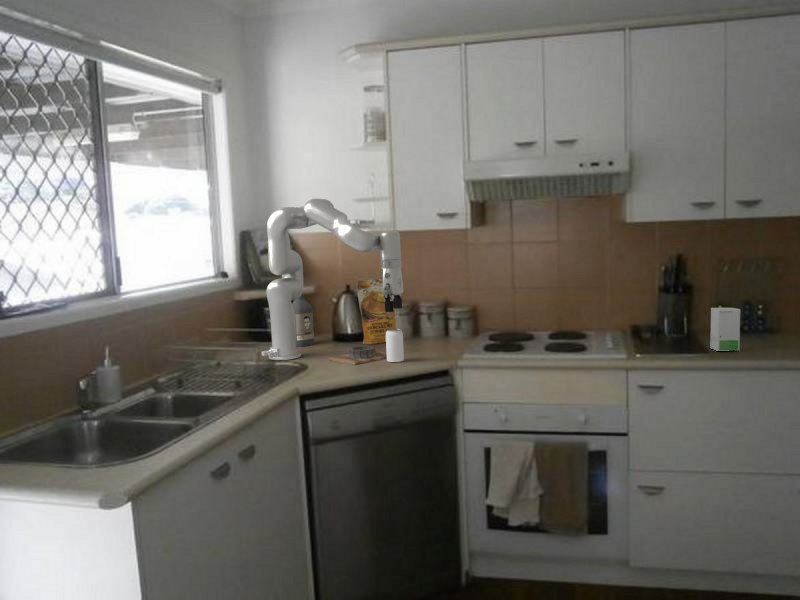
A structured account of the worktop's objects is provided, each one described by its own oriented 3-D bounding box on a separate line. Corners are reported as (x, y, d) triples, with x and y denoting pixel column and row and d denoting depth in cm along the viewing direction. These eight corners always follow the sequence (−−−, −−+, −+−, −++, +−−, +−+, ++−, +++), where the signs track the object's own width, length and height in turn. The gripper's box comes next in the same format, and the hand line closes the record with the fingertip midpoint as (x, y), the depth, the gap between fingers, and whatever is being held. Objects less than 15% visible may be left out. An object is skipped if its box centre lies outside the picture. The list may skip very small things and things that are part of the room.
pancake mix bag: (356, 343, 297) (352, 279, 294) (395, 338, 305) (392, 276, 302) (362, 345, 291) (358, 280, 288) (401, 340, 299) (399, 277, 296)
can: (394, 358, 260) (392, 327, 258) (407, 360, 256) (406, 328, 254) (383, 361, 255) (381, 330, 254) (396, 363, 251) (395, 331, 249)
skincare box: (717, 352, 245) (717, 309, 244) (709, 349, 252) (709, 307, 250) (740, 351, 245) (741, 308, 244) (731, 348, 252) (732, 306, 250)
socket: (354, 365, 251) (354, 354, 251) (329, 359, 263) (328, 349, 263) (395, 356, 264) (394, 346, 264) (369, 351, 276) (368, 342, 276)
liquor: (288, 345, 300) (283, 277, 297) (305, 342, 306) (301, 276, 303) (299, 347, 294) (295, 278, 290) (317, 344, 300) (313, 276, 296)
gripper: (393, 265, 242) (395, 313, 244) (407, 262, 258) (410, 307, 260) (373, 266, 244) (376, 313, 246) (389, 263, 261) (391, 307, 262)
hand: (393, 310), depth 253 cm, fingers open, 9 cm apart
